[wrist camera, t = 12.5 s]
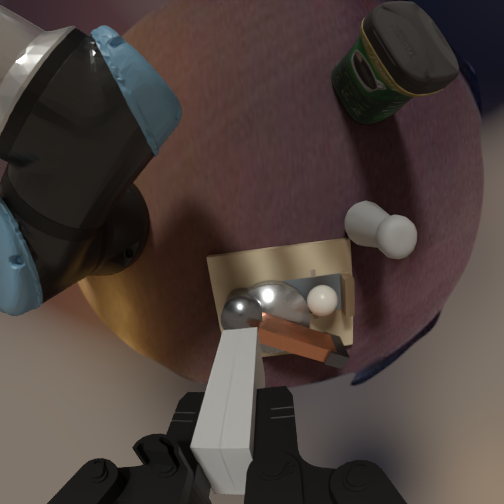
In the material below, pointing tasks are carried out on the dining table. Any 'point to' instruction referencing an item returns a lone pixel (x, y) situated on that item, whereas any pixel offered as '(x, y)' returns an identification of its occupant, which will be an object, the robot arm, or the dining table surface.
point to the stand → (292, 278)
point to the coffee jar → (393, 62)
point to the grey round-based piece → (281, 322)
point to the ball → (322, 300)
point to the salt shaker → (380, 230)
